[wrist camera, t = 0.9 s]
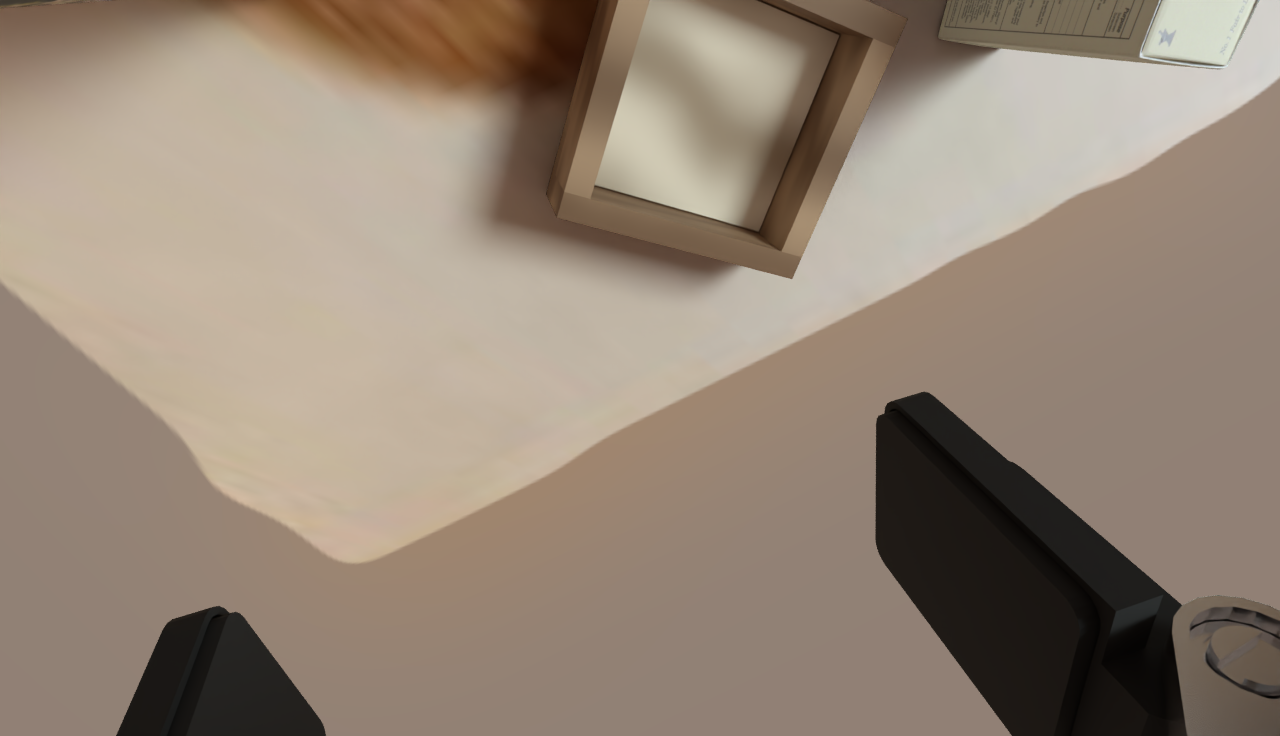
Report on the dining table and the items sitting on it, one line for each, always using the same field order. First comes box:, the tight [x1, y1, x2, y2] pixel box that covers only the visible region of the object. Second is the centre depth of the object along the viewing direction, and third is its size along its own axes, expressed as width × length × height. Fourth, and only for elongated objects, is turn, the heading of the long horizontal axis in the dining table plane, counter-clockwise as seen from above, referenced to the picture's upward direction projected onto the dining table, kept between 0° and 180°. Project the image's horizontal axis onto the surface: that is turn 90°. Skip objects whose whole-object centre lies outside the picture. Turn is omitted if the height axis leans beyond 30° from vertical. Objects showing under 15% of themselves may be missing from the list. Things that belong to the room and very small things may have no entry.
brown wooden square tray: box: [546, 0, 908, 279], centre depth 32 cm, size 12×12×4 cm
